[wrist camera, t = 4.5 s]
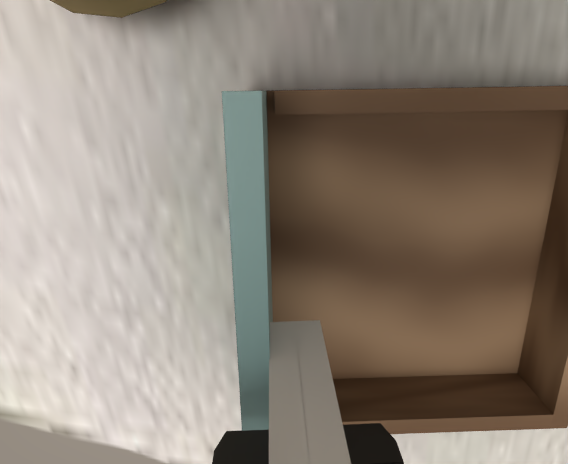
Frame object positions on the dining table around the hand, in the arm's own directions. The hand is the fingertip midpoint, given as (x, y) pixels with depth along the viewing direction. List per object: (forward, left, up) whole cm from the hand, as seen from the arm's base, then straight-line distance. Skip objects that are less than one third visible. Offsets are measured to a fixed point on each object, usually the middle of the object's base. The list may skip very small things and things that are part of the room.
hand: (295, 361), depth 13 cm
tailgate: (0, -2, -8) cm, 8 cm away
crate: (0, +6, -9) cm, 10 cm away
